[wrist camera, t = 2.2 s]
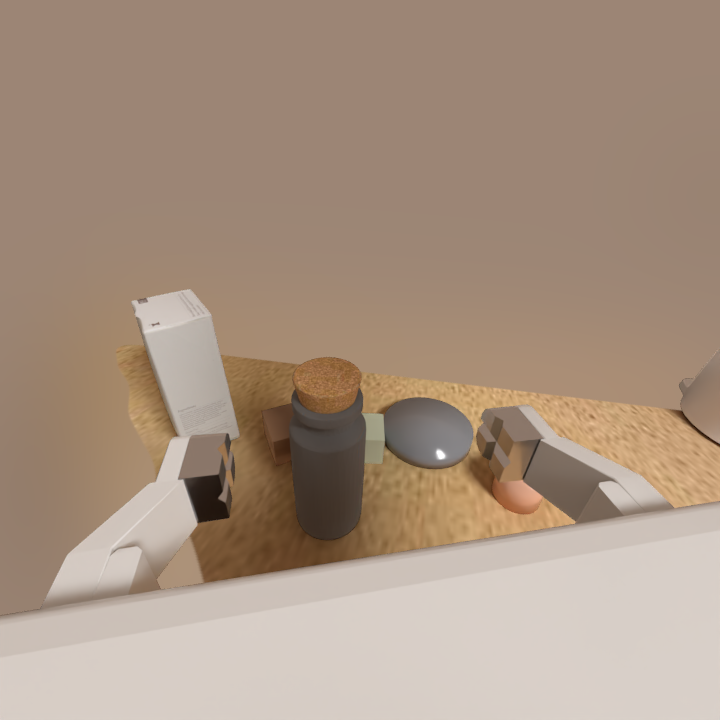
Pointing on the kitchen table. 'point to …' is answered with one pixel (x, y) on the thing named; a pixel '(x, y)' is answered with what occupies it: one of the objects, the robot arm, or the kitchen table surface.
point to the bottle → (327, 446)
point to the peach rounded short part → (516, 496)
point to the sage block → (374, 438)
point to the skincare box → (187, 363)
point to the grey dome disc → (427, 433)
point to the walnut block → (278, 432)
